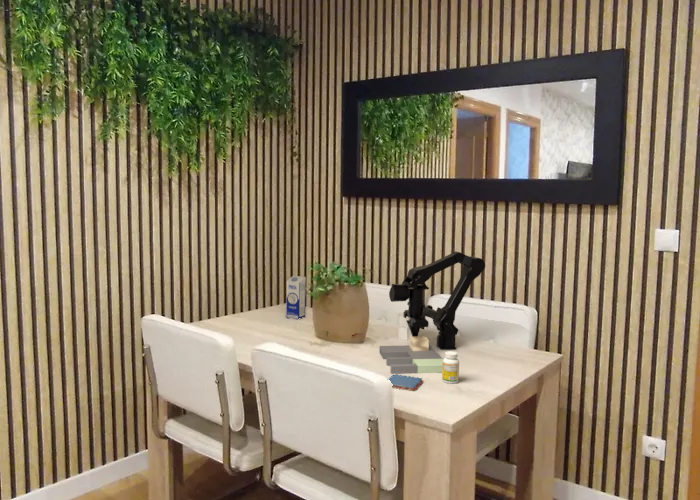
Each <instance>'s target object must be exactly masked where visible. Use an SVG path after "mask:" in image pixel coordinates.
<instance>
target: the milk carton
mask: <svg viewBox="0 0 700 500" xmlns="http://www.w3.org/2000/svg"><path fill="white" fill-rule="evenodd" d="M306 282H307V281H306V276H299V275H298V276H297V275H292V276H291V277H289V278H288V279H287V280H286V319H290V318H296V319H295V320H298V319H299V318H301V319H303V318H302V317H304V318H306V293H307V292H306V291H307V289H306V284H307V283H306ZM299 320H300V319H299Z"/></svg>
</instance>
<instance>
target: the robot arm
mask: <svg viewBox="0 0 700 500" xmlns="http://www.w3.org/2000/svg"><path fill="white" fill-rule="evenodd" d="M456 264H461V265H463V266H462V274H461V276H460V278H459V279H458V281H457V283H456V285H455V287H454V289H453V291H451V294H450V296H449V297H448V299H447V301H446V303H445V304H444V306H443V307H437V309H436V310H435V309H434V308H433V306H432V305H430V304H427V305H426V304H424V295H425V294H424V291H425V290H430V287H428V286H427V284H426V282H427V281H429V280H430V278H432V276H434V275H435V274H438V273H440V272H441V271H443V270H446V269H448V268H450V267H451V266H454V265H456ZM485 269H486V262H485V260H484V259H483V258H480V257H476V256H471V255H470V256H469V255H466V254H464V253H462V252H460V251H456V250H454V251H452V253H450V254H448V255H446V256H442V257H441V258H440V259H436V260H435V261H433V262H431V263H428V264H426V265H420V266H415V267H412V268H410V269H409V270H408V272H407V276H406V277H405V278H404V280H403V281H402V283H392V284H391V287H390V289H389V292H388V293H389V295H388V297H389V301H391V302H392V303H393V302H394V303H395V302H396V303H397V302H406V301H407V305H408V309H405V310H404V311H403V312H402V313H403V317H404V318H406V317H408V318H409V319H408V320H407V321H406V322H407V324H408V326H409V329H410V332H411V334H412V337H413V336H418V333H419V334H420V330H421V328H428V327H429V325H430V324H429V320H427V319H426V318H430V319H432V323H433V325H434V326H435V327H436V330H437V332H438V333H437V334H438V335H436V347H438V349H440V350H457V347H456V335H458V332H459V328H457V326H456V325H455V324H454V323H455V320H456V312H457V310H458V307H460V305H461V303H462V301H463V299H464V297H465V296H466V294H467V292H468V290H469V288H470V287H471V285H472V283H473V281H474V280H475V279H477V278H478V277H479V276H480V275H481V274H482V273H483V272H484V270H485Z"/></svg>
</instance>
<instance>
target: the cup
mask: <svg viewBox="0 0 700 500" xmlns="http://www.w3.org/2000/svg"><path fill="white" fill-rule="evenodd" d="M403 313H404V312H399V313H397V314H396V315H397V330H398V338H399V339H400V340H406V341H410V337H412V334H411V332H410V329H409V326H408V324H407V322H406V321H407V320H408V319H409V318H408V317H406V318H404V317H403ZM418 336H420V332H419V333H418Z"/></svg>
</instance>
